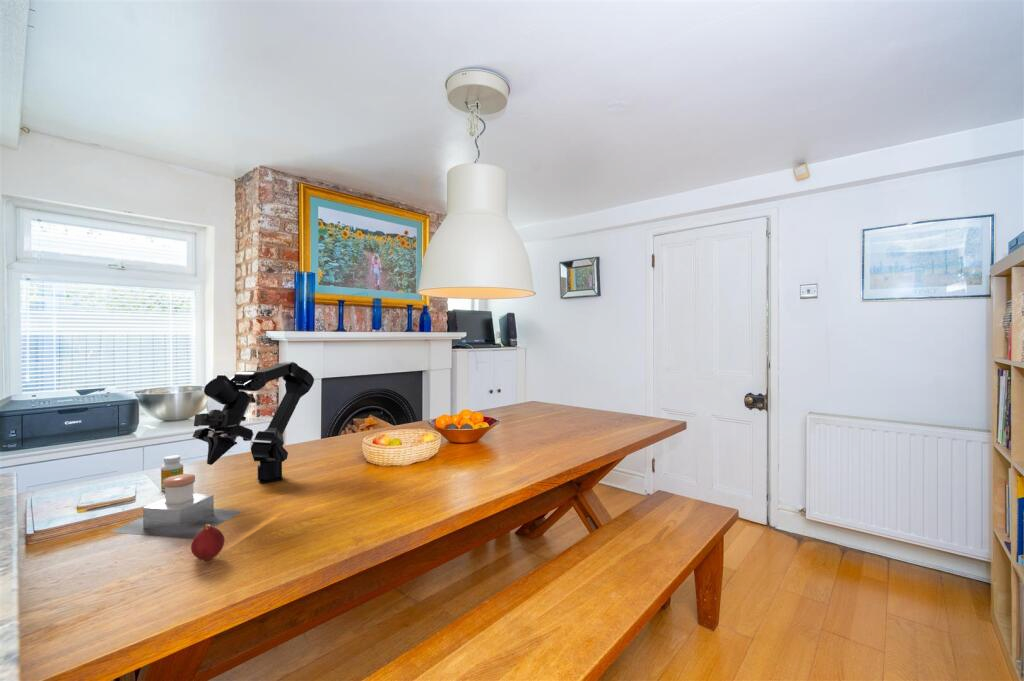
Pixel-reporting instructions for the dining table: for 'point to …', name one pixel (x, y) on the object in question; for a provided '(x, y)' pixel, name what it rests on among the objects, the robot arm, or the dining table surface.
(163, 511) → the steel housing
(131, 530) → the slate board
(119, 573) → the dining table surface
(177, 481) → the terracotta plug
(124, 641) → the dining table surface
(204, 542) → the onion
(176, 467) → the supplement bottle
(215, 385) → the robot arm
